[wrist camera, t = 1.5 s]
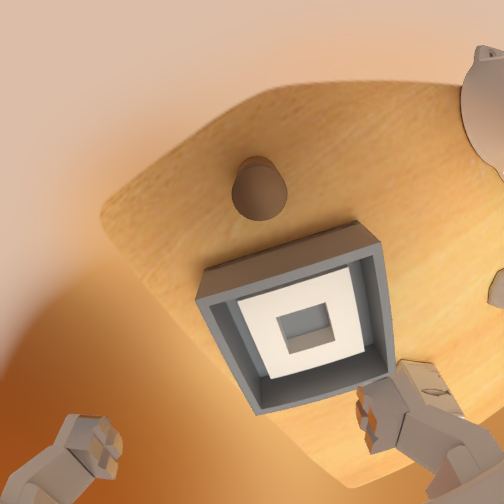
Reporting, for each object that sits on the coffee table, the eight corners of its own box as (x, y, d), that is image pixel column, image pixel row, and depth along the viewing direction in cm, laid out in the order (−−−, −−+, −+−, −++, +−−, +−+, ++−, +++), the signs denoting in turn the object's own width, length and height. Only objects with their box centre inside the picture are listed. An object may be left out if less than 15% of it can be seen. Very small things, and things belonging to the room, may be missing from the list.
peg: (269, 151, 31) (277, 159, 22) (282, 187, 32) (294, 211, 23) (232, 163, 31) (223, 177, 22) (245, 199, 33) (242, 227, 23)
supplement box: (434, 362, 42) (467, 416, 30) (410, 394, 44) (436, 449, 33) (401, 357, 41) (433, 418, 29) (377, 391, 44) (400, 452, 32)
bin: (357, 220, 33) (380, 241, 27) (379, 341, 40) (396, 374, 33) (204, 269, 36) (194, 300, 29) (255, 378, 42) (255, 415, 35)
